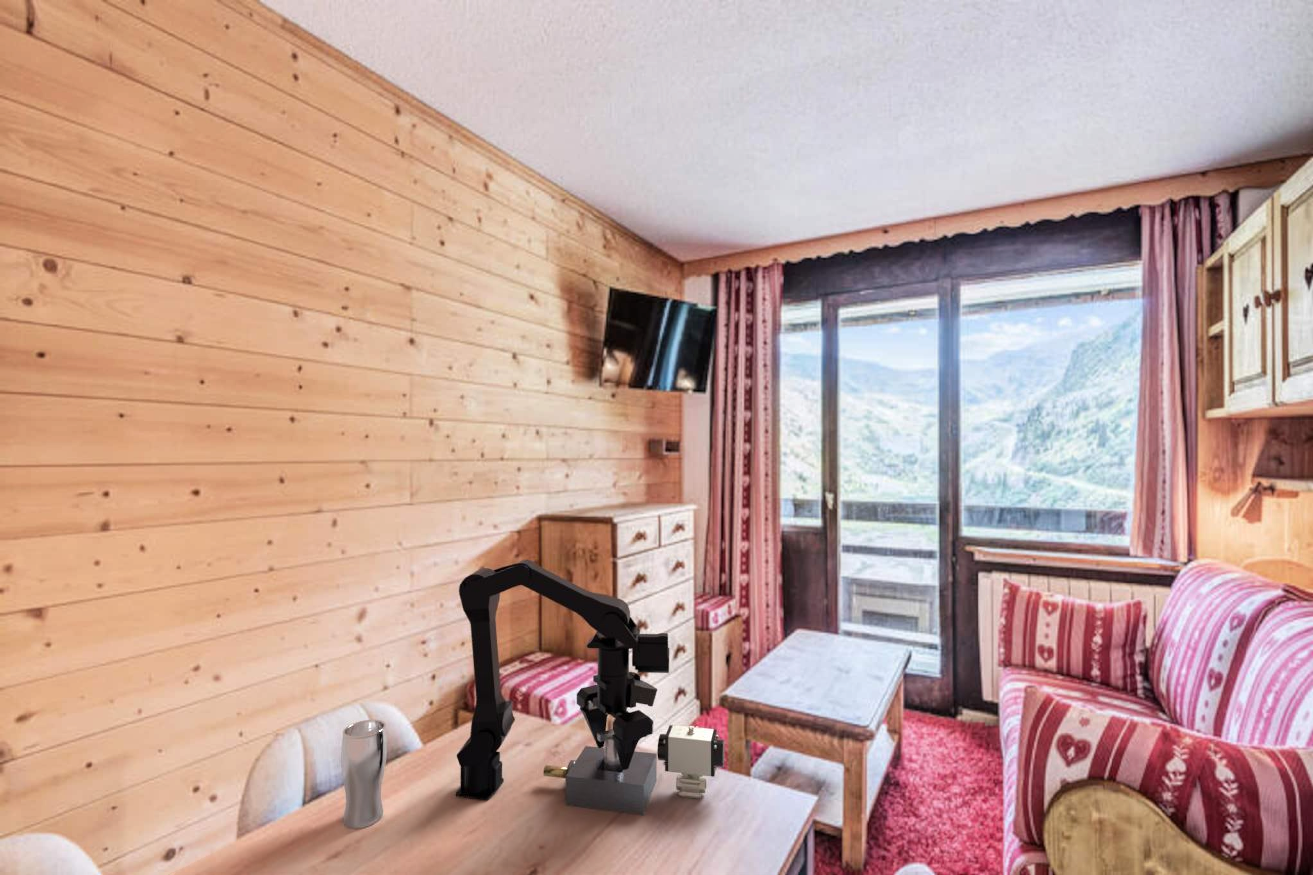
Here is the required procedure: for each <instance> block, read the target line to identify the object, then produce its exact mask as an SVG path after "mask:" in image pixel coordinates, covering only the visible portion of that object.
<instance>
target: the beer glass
mask: <svg viewBox="0 0 1313 875" xmlns="http://www.w3.org/2000/svg"><path fill="white" fill-rule="evenodd" d="M386 727H387V724H386V722H385V721H384V720H380V719H365V720H360V721H356V722H354V723H351V724H349V725H347V726H346V727H345V728H344V729H343V731H342V740H341V749H340V750H341V752H340V753H341V754H340V767H341V768H340V769H341V775H342V776H341V777H342V781H343V786H344V791H345V793H344V794H345V809H344V813H343V814H344V815H343V817H342V818H343V819H342V824H343V826H344V827H345V828H347V829H351V830H358V829H363V828H367V827H371V826H372V825H374V824H376V823H377V822H379V821H380V820H381V818H382V817H383V814H384V807H383V802H382V801H383V800H382V784H383V780H384V774H385V768H386V764H387V755H388V754H387V750H388V743H387V742H388V741H387V740H388V738H387V729H386Z"/></svg>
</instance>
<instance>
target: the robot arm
mask: <svg viewBox="0 0 1313 875" xmlns="http://www.w3.org/2000/svg"><path fill="white" fill-rule="evenodd" d="M518 586H523V587H525V588H527V589H528V590H531V591H533V592H534V593H536V594H538V595H541V596H542V597H544V598H546V599H548V600H549V601H552V602H554V603H556V604H558V605H560V606H561V607H564V608H566V609H567V610H570V611H572V612H574V613H576V614H577V615H579V617H581V618H582V619H583V621H585V623H586V624H587V625H588V626H590V627H591V628H592V629H594V630H595V631H596V632H595V634H594V635H593V636H592V637H590V639H589V640H588V642H587V644H586V648H587V649H597V674H596V675H593V676H592V680H593V683H595V684H594V685H590V686H584V687H580V689H579V690H578V692H577V693H576V705H577V706H579V709H580V710H579V711H580V712H581V713H582V715H583V718H584V720H585V722H586V724H587V726H588V728H589V730H590V733H591V735H592V737H593V739H594V742H595V744H596V747H598V748H604V741H602V742H600V741H598V740H597V733H600V732H604V731H607V722H608V715H610V717H613V718H614V720H613V721H612V729H613V731H614V734H613V735H612V736H613V740H614V743H615V747H616V750H617V754H618V757H619V761H620V764H621V767H622V769H623V770H626V769H628V768H629V766H630V763H631V760H632V757H633V754H634V751H636V748H637V745H638V743H639V741H640V740H641V739H643V738H646V737H647V736H650V735H652V734H654V720H653V719H652V718H651V717H650V716H648V715H647V714H645V713H644V712H642V711H641V710H639V709H638V710H634V711H628V708H630V709H633V708H636V707H637V704H639V705H646V706H647V707H653V706H654V703H655V699H656V696H657V692H658V688H657V687H655V686H653V685H651V684H650V683H649V682H647V681H644V680H643V679H641V675H640V674H641V673H643V674H644V673H647V674H669V673H670V647H669V634H668V632H660V633H641V629H640V628H639V627H638V625H637V624H636V622H635V620H634V619H632V617H631V611H630V610H631V609H630V607H629V605H628V603H627V602H626V601H624V599H623V600H622V599H621V598H618V597H614V596H611V595H608V594H605V593H604V594H603V593H598V592H592V591H589V590H586V589H585V588H583V587H581V586H578V585H577V584H575V583H573V582H571V581H569V580H566V579H565V578H563V577H561V576H559V575H557V574H555V573H553V572H552V571H549V570H547V569H545V567H544V568H543V567H542V566H540V565H537V564H536V563H534V561H532V560H530V559H522V560H520V561H518V562H516V563H512V564H508V565H505V566H501V567H499V568H496V569H491V568H489V567H482V568H479V569H478V570H476V571H473V573H471V574H469V575H467V576H465V577H464V578H463V580H462V581H461V583H459V586H458V594H459V598H460V603H461V606H462V611H463V612H464V615H465V616H466V618H467V620H468V621H469V625H470V633H471V634H470V635H471V636H470V637H471V650H472V661H473V662H472V664H473V676H474V687H475V689H474V690H475V705H474V710H473V713H472V720H471V725H470V734H469V738H467V740H466V741H465V743H464V744H463V745H462V747H461V749H460V750H459V751H458V752H457V754H456V759H457V761H458V764H459V767H460V781H459V782H460V786H459V788H458V789H457V790H456V791H455V796H456V797H460V798H461V797H462V798H467V799H469V798H470V799H477V800H484V801H487V800H489V799H491V797H492V796H493V795H494V794H495V793H496V791H497V790H498V789H499V788H500V787H501V786H502V784H503V783H504V781H505V780H504V778H503V762H502V761H501V752H500V751H498V750H499V749H500V747H501V746H502V745H503V743H504V741H505V739H506V738H507V736H508V735H509V733H510V732H511V729H512V726H513V725H514V723H515V720H516V718H515V716H514V713H513V709H514V708H513V707H514V701H513V699H510V700H509V699H508V700H506V699H505V697H504V696H503V694H502V689H501V685H502V684H501V676H500V675H501V674H500V662H499V661H500V660H499V659H500V658H499V648H498V636H497V620H496V617H497V611H498V609H499V608H498V606H499V602H500V597H501V593H503V592H506V591H509V590H511V589H514V588H516V587H518ZM630 650H631V652H632V653H631V666H632V667H634V670H635V671H637V672H635V671H634V672H633V671H630ZM638 673H640V674H638Z"/></svg>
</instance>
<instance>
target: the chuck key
mask: <svg viewBox="0 0 1313 875" xmlns="http://www.w3.org/2000/svg"><path fill="white" fill-rule="evenodd" d="M613 734H614V731H613V728H611V729H608V730H607V729H606V731H604V732H600V733H597V740H598V741H600V742H602V741H604V747H603V748H604V771H613V772H622V767H621V764H620V761H619V757H618V754H617V750H616V747H615V743H614V740H613V736H612V735H613Z"/></svg>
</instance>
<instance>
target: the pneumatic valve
mask: <svg viewBox="0 0 1313 875" xmlns="http://www.w3.org/2000/svg"><path fill="white" fill-rule="evenodd" d="M719 738H720V736H719V735H718V729H716V728H714V729H713V728H707V727H705V728H703V727H699V726H697V725H695V726H694V725H688V726H686V725H685V726H683V725H673V724H672V725H671V724H669V725H668V729H667V730H666V733H660V734H659V736H658V740H657V753H656V754H657V759H658V760H657V761H663V764H662V765H663V766H664V772H670V773H678V775H676V780H675V789H676V791H679V792H678V795H679V796H681V797H682V798H689V799H697V800H699V799H701V798H702V794H705V793H706V792H707V778H706V777H715V776H716V772H717V769H718V768H724V766H725V756H726V755H725V753H726V750H725V748H726V743H725V739H719ZM717 767H718V768H717ZM703 776H704V777H703ZM705 776H706V777H705Z"/></svg>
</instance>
